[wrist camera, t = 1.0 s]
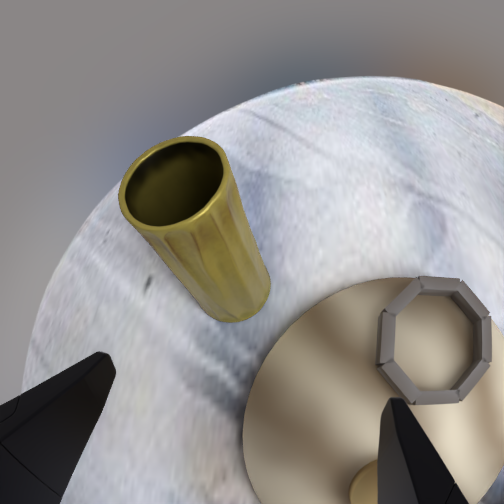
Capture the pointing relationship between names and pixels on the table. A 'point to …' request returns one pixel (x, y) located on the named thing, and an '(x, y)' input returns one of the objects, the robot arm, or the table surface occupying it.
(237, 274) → the vase
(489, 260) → the table surface
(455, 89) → the table surface
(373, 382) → the disc
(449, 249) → the table surface
